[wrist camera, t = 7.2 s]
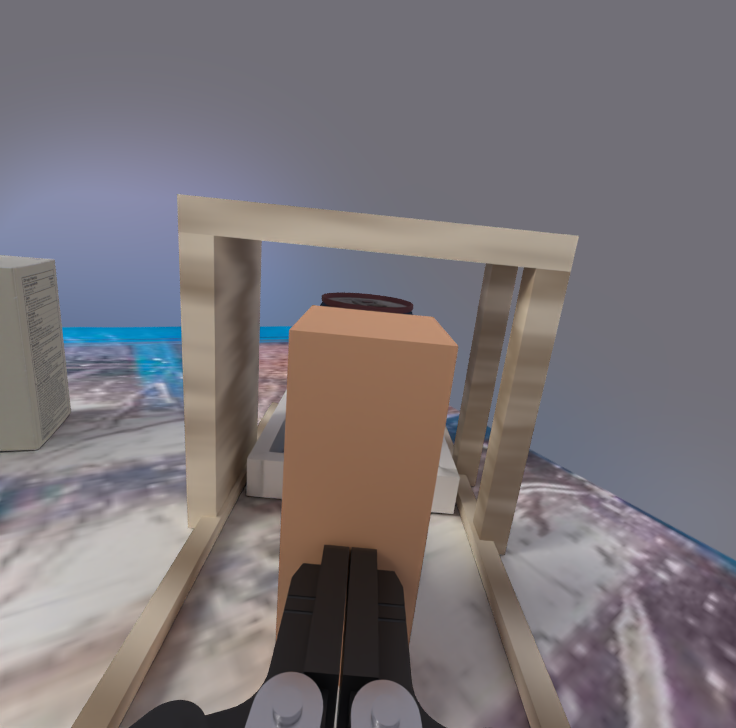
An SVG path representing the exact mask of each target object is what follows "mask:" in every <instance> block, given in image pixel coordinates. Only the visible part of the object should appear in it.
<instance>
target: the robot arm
mask: <svg viewBox="0 0 736 728" xmlns="http://www.w3.org/2000/svg"><path fill="white" fill-rule="evenodd" d="M348 560H349V547H346V546H336V545H324V549H323V555H322V561H321V565H320V564H309V563H303V564H302V565H301V566H300V567H299V569H298V570H297V571H296V572H295V574H294V575H293V576H292V578H291V582H290V587H289V591H288V595H287V599H286V603H285V607H284V612H283V615H282V619H281V623H280V627H279V631H278V636H277V640H276V644H275V648H274V652H273V656H272V660H271V664H270V668H269V672H268V675H267V677H266V679H265V681H264V683H263V684H262V686H261V687H260V689H259V690H258V691H257V692H256V693H255V694H254V695H253V696H252V697H251V698H250V699H248V700H247V701H245V702H244V703H242V704H240V705H238V706H236V707H233V708H230V709H227V710H223V711H220V712H216V713H212V714H209V715H204V713H203V711H202V710H201V709H200V707H199V706H197V705H196V704H194V703H192V702H190V701H185V700H174V701H170V702H167V703H164V704H161V705H159V706H157V707H156V708H154V709H153V710H151V711H150V712H148V713H147V714H146V715H144V716H143V717H142V718H141V719H139V720H138V721H137V722H135V723H134V724H133V725H132V726H130V727H129V728H334V722H335V713H336V703H337V694H338V685H339V697H338V710H337V723H336V728H446V727H444V726H442V725H441V724H439V723H437V722H436V721H435V720H433V719H432V718H431V717H430V716H429V715H428V714H427V713H426V712H425V711H424V710H423V708H422V707H421V705H420V704H419V702H418V700H417V698H416V696H415V694H414V690H413V687H412V680H411V668H410V657H409V646H408V634H407V624H406V612H405V601H404V589H403V586H402V584H401V582H400V580H399V578H398V577H397V575H396V573H395V571H388V570H377V549H370V548H359V547H352V548H351V557H350V567H349V576H348V585H347V573H348ZM346 586H347V595H346ZM345 599H346V606H345ZM344 611H345V618H344ZM343 624H344V631H343ZM342 637H343V644H342ZM341 650H342V657H341ZM340 663H341V671H340ZM339 675H340V684H339Z"/></svg>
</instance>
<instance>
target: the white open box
mask: <svg viewBox="0 0 736 728" xmlns="http://www.w3.org/2000/svg"><path fill="white" fill-rule="evenodd" d="M457 352H458V345H457V344H456V343H455V342H454V341H453V340H452V338H451V337H450V336H449V335H448V334H447V332H446V331H445V330H444V329H443V328H442V327H441V326H440V324H439V323H438V322H437V321H436V320H435V319H434V317H426V316H416V315H406V314H396V313H386V312H376V311H366V310H356V309H345V308H335V307H325V306H315V305H312V306H311V308H310V309H309V310H308V311H307V312H306V313H305V314H304V315H303V316H302V317H301V318H300V319H299V320H298V321H297V323H296V324H295V325H294V326H293V327H292V328H291V329H290V330H289V352H288V374H287V390H286V392H285V393H284V395H283V397H282V399H281V400H280V402H279V404H278V406H277V407H276V409H275V411H274V413H273V414H272V416H271V418H270V420H269V421H268V423H267V425H266V426H265V428H264V430H263V432H262V433H261V435H260V437H259V439H258V440H257V442H256V444H255V446H254V447H253V449H252V451H251V453H250V454H249V456H248V458H247V494H246V496H255V497H267V498H278V499H282V510H281V533H280V556H279V578H278V601H277V624H276V640H277V636H278V631H279V627H280V623H281V619H282V615H283V612H284V607H285V603H286V599H287V595H288V591H289V587H290V582H291V578H292V576H293V575H294V574H295V572H296V571H297V570H298V569H299V567H300V566H301V565H302V564H303V563H309V564H320V565H321V561H322V555H323V549H324V545H336V546H346V547H349V560H348V573H347V585H348V576H349V567H350V557H351V548H352V547H359V548H370V549H377V570H388V571H395V573H396V575H397V577H398V578H399V580H400V582H401V584H402V586H403V589H404V601H405V612H406V624H407V634H408V646H409V642H410V636H411V630H412V624H413V618H414V612H415V606H416V599H417V593H418V587H419V581H420V575H421V569H422V563H423V557H424V551H425V545H426V539H427V533H428V527H429V521H430V515H431V512H438V513H449V514H453V513H454V507H455V502H456V496H457V491H458V486H459V480H460V477H459V474H458V471H457V469H456V466H455V463H454V461H453V458H452V456H451V453H450V450H449V448H448V445H447V443H446V440H445V437H444V430H445V424H446V418H447V412H448V406H449V400H450V394H451V388H452V381H453V376H454V370H455V363H456V358H457ZM283 449H284V453H282V452H283ZM346 595H347V586H346ZM345 606H346V599H345ZM344 618H345V611H344ZM343 631H344V624H343ZM342 644H343V637H342ZM341 657H342V650H341ZM340 671H341V663H340ZM339 684H340V675H339ZM338 697H339V685H338V694H337V703H336V713H335V722H334V728H336V723H337V710H338Z"/></svg>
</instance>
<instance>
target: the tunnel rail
mask: <svg viewBox="0 0 736 728" xmlns="http://www.w3.org/2000/svg"><path fill="white" fill-rule="evenodd" d="M177 200H178V233H179V264H180V295H181V327H182V358H183V389H184V420H185V451H186V482H187V513H188V528H194V530H193V531H192V533H191V535H190V536H189V538H188V539H187V541H186V543H185V544H184V546H183V547H182V549H181V551H180V552H179V554H178V556H177V557H176V559H175V560H174V562H173V564H172V565H171V567H170V568H169V570H168V572H167V573H166V575H165V577H164V578H163V580H162V581H161V583H160V585H159V586H158V588H157V590H156V591H155V593H154V594H153V596H152V598H151V599H150V601H149V602H148V604H147V606H146V607H145V609H144V611H143V612H142V614H141V615H140V617H139V619H138V620H137V622H136V623H135V625H134V627H133V628H132V630H131V632H130V633H129V635H128V636H127V638H126V640H125V641H124V643H123V644H122V646H121V648H120V649H119V651H118V653H117V654H116V656H115V657H114V659H113V661H112V662H111V664H110V665H109V667H108V669H107V670H106V672H105V674H104V675H103V677H102V678H101V680H100V682H99V683H98V685H97V686H96V688H95V690H94V691H93V693H92V695H91V696H90V698H89V699H88V701H87V703H86V704H85V706H84V707H83V709H82V711H81V712H80V714H79V716H78V717H77V719H76V720H75V722H74V724H73V725H72V727H71V728H119V726H120V724H121V722H122V720H123V718H124V716H125V714H126V712H127V710H128V708H129V706H130V704H131V703H132V701H133V699H134V697H135V695H136V693H137V691H138V689H139V687H140V685H141V683H142V681H143V679H144V678H145V676H146V674H147V672H148V670H149V668H150V666H151V664H152V662H153V660H154V658H155V656H156V655H157V653H158V651H159V649H160V647H161V645H162V643H163V641H164V639H165V637H166V635H167V633H168V631H169V630H170V628H171V626H172V624H173V622H174V620H175V618H176V616H177V614H178V612H179V610H180V608H181V607H182V605H183V603H184V601H185V599H186V597H187V595H188V593H189V591H190V589H191V587H192V585H193V583H194V582H195V580H196V578H197V576H198V574H199V572H200V570H201V568H202V566H203V564H204V562H205V560H206V559H207V557H208V555H209V553H210V551H211V549H212V547H213V545H214V543H215V541H216V539H217V537H218V535H219V534H220V532H221V530H222V528H223V526H224V524H225V522H226V520H227V518H228V516H229V514H230V512H231V511H232V509H233V507H234V505H235V503H236V501H237V499H238V497H239V495H240V493H241V491H242V489H243V487H244V486H245V484H246V482H247V458H248V456H249V454H250V453H251V451H252V449H253V447H254V446H255V444H256V442H257V440H258V439H259V437H260V435H261V433H262V432H263V430H264V428H265V426H266V425H267V423H268V421H269V420H270V418H271V416H272V414H273V413H274V411H275V409H276V407H277V406H278V404H279V403H272V404H271V405H270V407H269V409H268V410H267V412H266V413H265V415H264V417H263V418H262V420H261V421H260V423H259V425H258V426H257V417H258V374H259V330H260V287H261V282H260V281H261V243H262V240H263V241H272V242H283V243H292V244H302V245H313V246H321V247H332V248H341V249H351V250H361V251H371V252H380V253H390V254H400V255H411V256H421V257H430V258H440V259H449V260H459V261H470V262H479V263H486V267H485V272H484V277H483V283H482V289H481V295H480V300H479V306H478V312H477V317H476V323H475V330H474V335H473V340H472V346H471V352H470V358H469V363H468V369H467V375H466V380H465V386H464V392H463V398H462V404H461V410H460V415H459V420H458V426H457V432H456V438H455V443H454V445H453V442H452V440H451V438H450V435H449V433H448V430H447V428H446V425H445V430H444V437H445V440H446V443H447V445H448V448H449V450H450V453H451V456H452V458H453V461H454V463H455V466H456V469H457V471H458V474H459V477H460V480H459V486H458V491H457V496H456V504H457V507H458V510H459V513H460V516H461V519H462V522H463V525H464V528H465V531H466V534H467V537H468V540H469V543H470V546H471V549H472V552H473V555H474V558H475V561H476V564H477V567H478V570H479V573H480V576H481V579H482V582H483V585H484V588H485V591H486V594H487V597H488V600H489V603H490V606H491V609H492V613H493V616H494V619H495V622H496V625H497V628H498V631H499V634H500V637H501V640H502V643H503V646H504V649H505V652H506V655H507V658H508V661H509V664H510V667H511V670H512V673H513V676H514V679H515V682H516V685H517V688H518V691H519V694H520V697H521V700H522V703H523V706H524V709H525V712H526V715H527V718H528V721H529V724H530V727H531V728H571V727H570V725H569V722H568V720H567V717H566V715H565V712H564V710H563V708H562V705H561V703H560V700H559V698H558V696H557V693H556V691H555V688H554V686H553V684H552V681H551V679H550V676H549V674H548V671H547V669H546V667H545V664H544V662H543V659H542V657H541V655H540V652H539V650H538V647H537V645H536V643H535V640H534V638H533V635H532V633H531V630H530V628H529V626H528V623H527V621H526V618H525V616H524V614H523V611H522V609H521V606H520V604H519V602H518V599H517V597H516V594H515V592H514V589H513V587H512V585H511V582H510V580H509V577H508V575H507V573H506V570H505V568H504V565H503V563H502V561H501V558H500V556H499V554H501V555H505V551H506V546H507V542H508V538H509V534H510V529H511V525H512V521H513V516H514V512H515V508H516V503H517V499H518V495H519V491H520V486H521V482H522V478H523V473H524V469H525V465H526V461H527V456H528V452H529V448H530V443H531V439H532V435H533V431H534V426H535V422H536V417H537V413H538V409H539V405H540V401H541V396H542V392H543V387H544V383H545V379H546V375H547V370H548V366H549V362H550V358H551V353H552V349H553V344H554V340H555V336H556V332H557V328H558V323H559V319H560V315H561V310H562V306H563V301H564V298H565V293H566V289H567V284H568V280H569V276H570V272H571V268H572V263H573V259H574V255H575V250H576V246H577V242H578V237H579V236H574V235H565V234H555V233H546V232H536V231H526V230H517V229H507V228H497V227H488V226H478V225H468V224H459V223H448V222H440V221H429V220H420V219H410V218H401V217H391V216H382V215H372V214H362V213H353V212H343V211H334V210H324V209H314V208H305V207H295V206H284V205H276V204H266V203H256V202H247V201H237V200H227V199H218V198H207V197H199V196H189V195H179V194H177ZM518 267H524V270H523V275H522V280H521V285H520V290H519V295H518V299H517V305H516V310H515V314H514V319H513V325H512V329H511V334H510V339H509V344H508V349H507V354H506V359H505V365H504V369H503V374H502V379H501V384H500V389H499V394H498V399H497V404H496V409H495V414H494V419H493V424H492V429H491V434H490V439H489V444H488V449H487V454H486V459H485V464H484V469H483V474H482V479H481V484H480V489H479V494H478V499H477V500H476V498H475V495H474V493H473V491H472V488H471V486H475V483H476V478H477V473H478V468H479V463H480V458H481V453H482V447H483V442H484V437H485V432H486V427H487V422H488V417H489V412H490V407H491V401H492V397H493V391H494V386H495V381H496V376H497V371H498V366H499V361H500V356H501V351H502V345H503V341H504V336H505V331H506V326H507V320H508V315H509V310H510V305H511V300H512V295H513V290H514V285H515V280H516V274H517V270H518Z"/></svg>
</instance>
